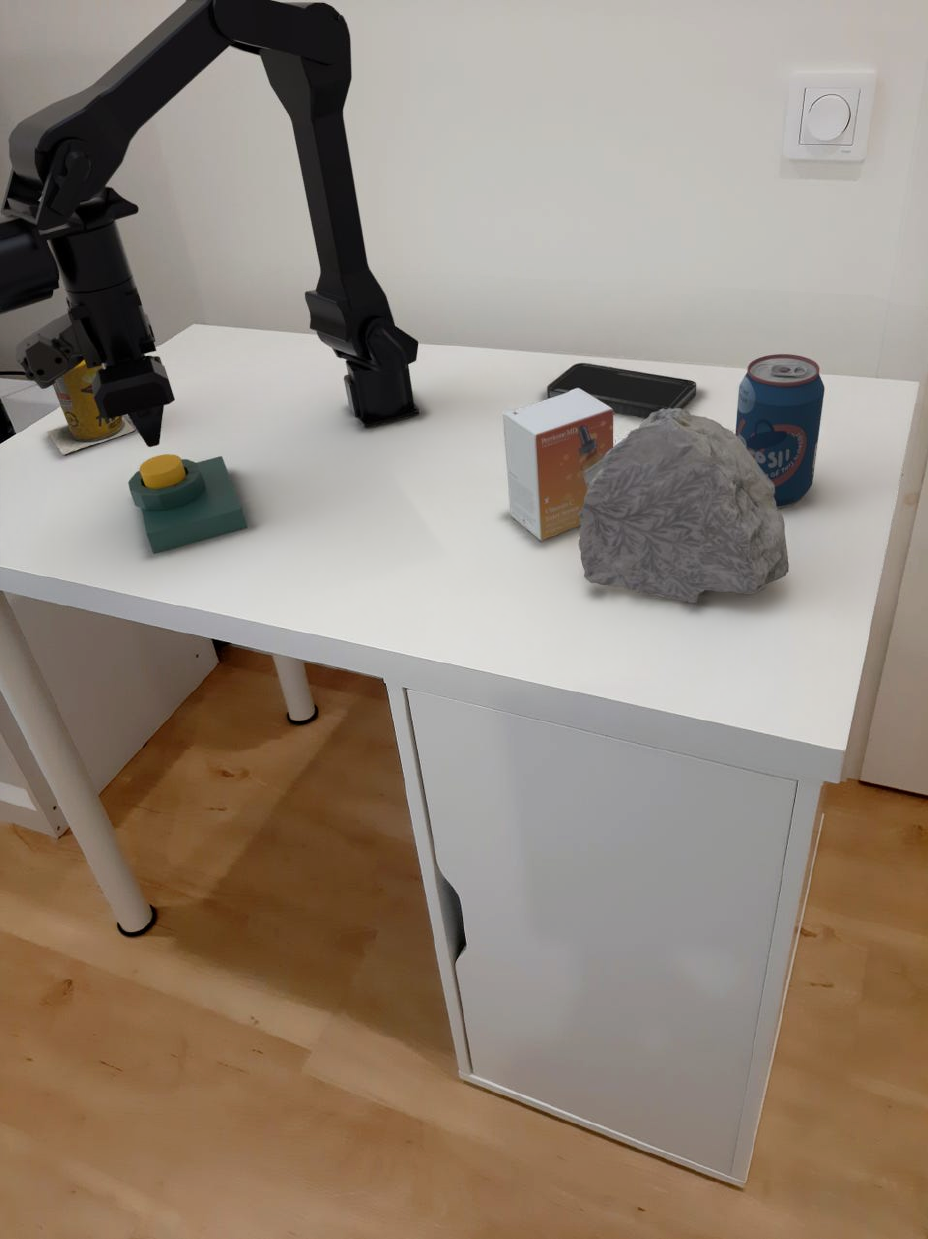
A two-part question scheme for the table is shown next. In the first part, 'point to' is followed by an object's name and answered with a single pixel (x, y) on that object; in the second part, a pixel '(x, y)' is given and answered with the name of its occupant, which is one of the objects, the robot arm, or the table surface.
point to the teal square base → (189, 506)
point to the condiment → (83, 412)
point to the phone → (625, 388)
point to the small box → (555, 459)
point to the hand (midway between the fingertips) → (153, 444)
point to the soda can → (782, 421)
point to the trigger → (162, 471)
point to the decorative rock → (682, 513)
